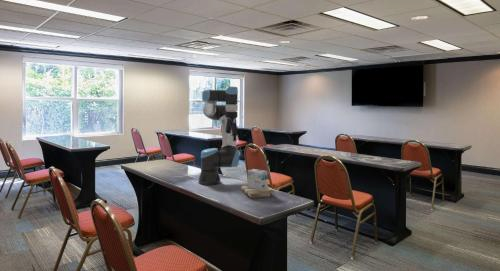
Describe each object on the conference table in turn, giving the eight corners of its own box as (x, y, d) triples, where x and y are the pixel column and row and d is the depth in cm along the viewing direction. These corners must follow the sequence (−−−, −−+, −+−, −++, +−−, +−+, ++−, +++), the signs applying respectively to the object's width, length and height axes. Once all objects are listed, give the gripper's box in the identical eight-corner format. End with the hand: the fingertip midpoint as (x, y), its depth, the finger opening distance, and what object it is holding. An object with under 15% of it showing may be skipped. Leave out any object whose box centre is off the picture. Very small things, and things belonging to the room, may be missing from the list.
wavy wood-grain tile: (240, 191, 210) (240, 185, 209) (264, 190, 215) (264, 183, 214) (248, 199, 194) (249, 192, 194) (274, 197, 199) (274, 190, 199)
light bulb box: (267, 188, 204) (267, 170, 203) (261, 190, 198) (261, 172, 197) (253, 185, 210) (253, 168, 209) (246, 187, 204) (247, 170, 203)
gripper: (221, 110, 222) (220, 142, 224) (230, 112, 198) (230, 147, 201) (232, 110, 224) (231, 142, 227) (243, 112, 201) (242, 147, 203)
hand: (231, 144), depth 214 cm, fingers open, 13 cm apart
